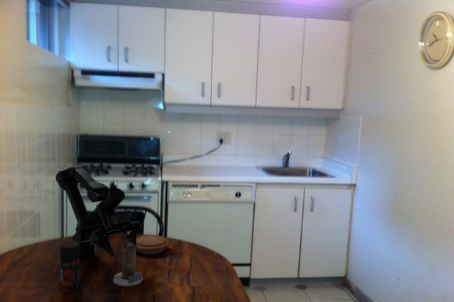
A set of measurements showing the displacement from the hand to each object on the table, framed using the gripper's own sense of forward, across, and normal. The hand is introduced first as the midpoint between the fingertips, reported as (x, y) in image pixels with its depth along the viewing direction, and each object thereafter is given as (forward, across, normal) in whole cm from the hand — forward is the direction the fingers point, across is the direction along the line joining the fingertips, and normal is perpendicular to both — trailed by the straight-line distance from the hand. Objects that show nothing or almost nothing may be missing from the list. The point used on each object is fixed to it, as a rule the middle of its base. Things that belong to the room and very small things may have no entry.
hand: (124, 253), depth 136 cm
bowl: (+8, 0, +5) cm, 10 cm away
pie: (-4, +24, +18) cm, 31 cm away
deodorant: (+3, -17, +11) cm, 21 cm away
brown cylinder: (+7, 0, +4) cm, 8 cm away
